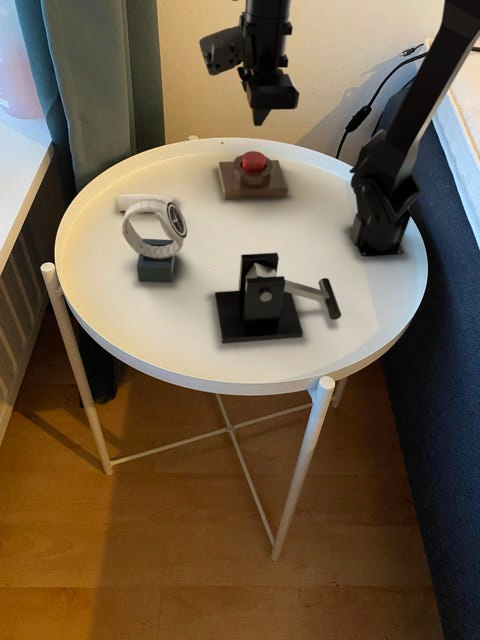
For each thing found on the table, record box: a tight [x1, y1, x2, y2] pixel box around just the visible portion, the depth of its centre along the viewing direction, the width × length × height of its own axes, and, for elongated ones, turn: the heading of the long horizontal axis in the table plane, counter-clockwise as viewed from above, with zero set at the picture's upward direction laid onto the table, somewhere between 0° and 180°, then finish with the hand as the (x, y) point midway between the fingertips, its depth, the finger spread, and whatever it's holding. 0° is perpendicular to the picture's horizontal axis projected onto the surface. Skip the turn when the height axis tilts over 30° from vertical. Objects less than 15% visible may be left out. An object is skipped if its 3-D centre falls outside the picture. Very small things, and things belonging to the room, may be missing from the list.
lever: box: [245, 263, 342, 321], centre depth 67 cm, size 12×6×2 cm, turn 98°
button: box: [242, 150, 266, 173], centre depth 86 cm, size 4×4×2 cm
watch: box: [121, 198, 188, 284], centre depth 71 cm, size 6×8×11 cm
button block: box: [218, 154, 289, 200], centre depth 88 cm, size 10×8×4 cm
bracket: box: [214, 252, 304, 344], centre depth 67 cm, size 10×8×9 cm
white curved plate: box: [117, 193, 173, 213], centre depth 83 cm, size 4×8×3 cm, turn 90°
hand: (257, 124), depth 81 cm, fingers closed
